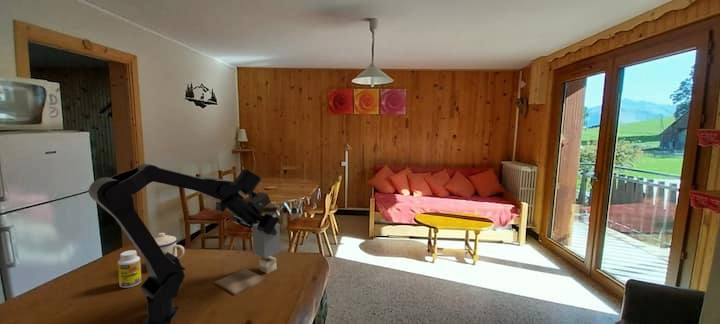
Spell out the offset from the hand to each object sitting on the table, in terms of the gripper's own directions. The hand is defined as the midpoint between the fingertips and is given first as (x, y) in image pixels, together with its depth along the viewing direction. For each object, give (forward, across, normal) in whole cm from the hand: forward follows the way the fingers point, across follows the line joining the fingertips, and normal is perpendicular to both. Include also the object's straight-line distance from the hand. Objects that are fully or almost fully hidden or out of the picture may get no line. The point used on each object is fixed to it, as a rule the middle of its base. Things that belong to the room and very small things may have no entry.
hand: (269, 231), depth 105 cm
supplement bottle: (-14, +26, +33) cm, 44 cm away
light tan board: (+2, 0, +18) cm, 18 cm away
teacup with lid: (-5, +31, +24) cm, 39 cm away
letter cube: (+9, 0, +10) cm, 14 cm away
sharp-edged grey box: (+4, 0, +6) cm, 7 cm away
